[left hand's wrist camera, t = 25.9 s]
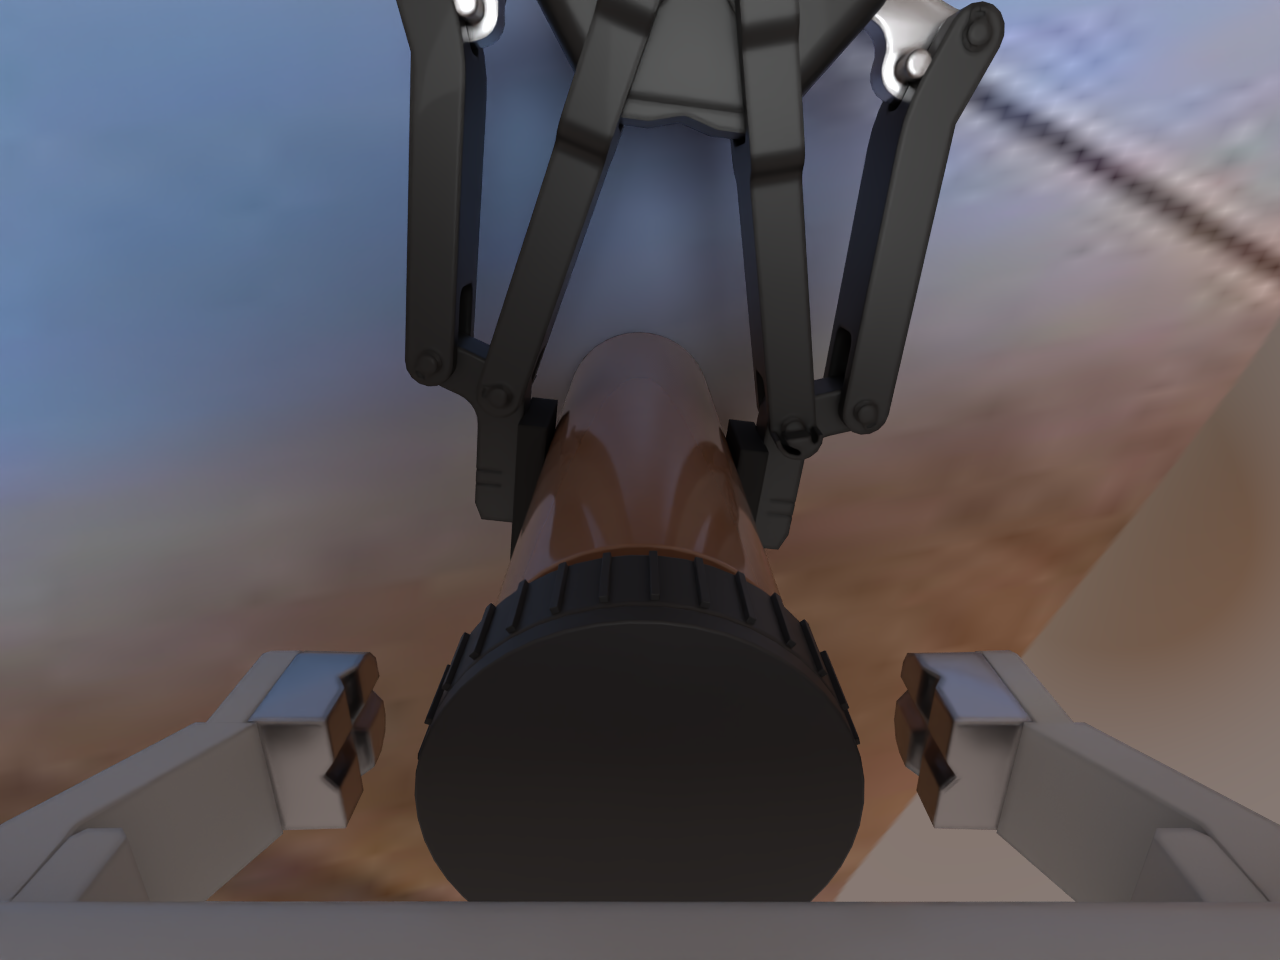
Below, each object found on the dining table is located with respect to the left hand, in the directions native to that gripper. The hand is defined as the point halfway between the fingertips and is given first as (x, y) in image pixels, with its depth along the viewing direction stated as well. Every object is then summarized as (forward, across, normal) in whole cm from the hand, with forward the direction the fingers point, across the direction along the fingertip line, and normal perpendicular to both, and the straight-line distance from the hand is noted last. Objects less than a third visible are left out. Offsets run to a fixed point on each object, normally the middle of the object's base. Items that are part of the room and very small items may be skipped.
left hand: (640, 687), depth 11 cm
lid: (-2, 0, 0) cm, 2 cm away
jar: (+17, 0, 0) cm, 17 cm away
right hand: (+10, -1, -6) cm, 12 cm away
